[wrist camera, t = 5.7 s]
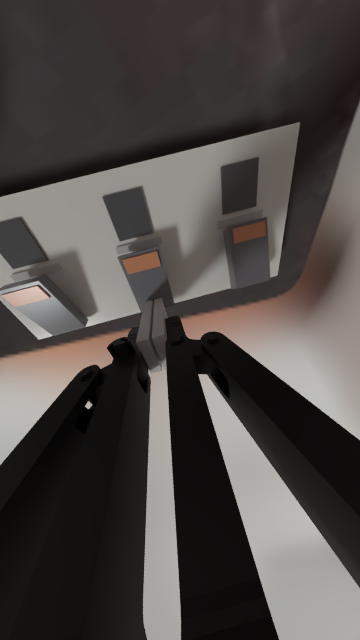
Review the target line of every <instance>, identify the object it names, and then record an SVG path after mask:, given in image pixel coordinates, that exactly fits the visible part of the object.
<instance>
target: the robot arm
mask: <svg viewBox="0 0 360 640" xmlns="http://www.w3.org/2000/svg"><path fill="white" fill-rule="evenodd" d="M107 349H108V350H109V352H110V354H111V355H112V356H113V358H114V359H113V362H112V364H110V365H108V366H106V367H104V368H102V369H100V368H99V366H97V365H92V366H89V367H87V368H84V369H83V370H82V371H80V372H79V373H78V374H77V375H76V376H75V377H74V379H73V380H72V381H71V382H70V383H69V385H68V386H67V387H66V388H65V389H64V390H63V392H62V393H61V394H60V395H59V396H58V398H57V399H56V400H55V401H54V402H53V403H52V405H51V406H50V407H49V408H48V409H47V411H46V412H45V413H44V414H43V415H42V417H41V418H40V419H39V420H38V421H37V422H36V424H35V425H34V426H33V427H32V428H31V430H30V431H29V432H28V433H27V434H26V436H25V437H24V438H23V439H22V440H21V441H20V443H19V444H18V445H17V446H16V447H15V448H14V450H13V451H12V452H11V453H10V454H9V456H8V457H7V458H6V459H5V460H4V462H3V463H2V464H1V465H0V640H147V638H146V634H145V629H144V624H143V582H144V554H145V553H144V552H145V526H146V525H145V524H146V498H147V495H146V494H147V469H148V468H147V467H148V441H149V440H148V439H149V412H150V384H151V381H150V377H149V375H148V369H149V370H150V372H151V373H154V372H157V371H161V370H162V363H163V366H164V368H165V369H167V383H168V400H169V416H170V434H171V450H172V467H173V484H174V500H175V518H176V534H177V550H178V568H179V585H180V603H181V640H279V639H278V635H277V632H276V629H275V626H274V623H273V620H272V617H271V613H270V610H269V607H268V604H267V601H266V598H265V594H264V591H263V588H262V584H261V581H260V578H259V575H258V571H257V568H256V565H255V561H254V558H253V555H252V552H251V548H250V545H249V542H248V538H247V535H246V532H245V528H244V525H243V522H242V519H241V515H240V512H239V509H238V506H237V502H236V499H235V495H234V492H233V489H232V486H231V482H230V479H229V476H228V472H227V469H226V466H225V463H224V459H223V456H222V452H221V449H220V446H219V442H218V439H217V436H216V433H215V429H214V426H213V423H212V419H211V416H210V413H209V409H208V406H207V403H206V399H205V396H204V393H203V390H202V386H201V383H200V380H199V376H198V374H207V375H208V376H209V378H210V379H211V381H212V382H213V383H214V385H215V386H216V388H217V389H218V390H219V392H220V393H221V394H222V396H223V397H224V399H225V400H226V402H227V403H228V404H229V406H230V407H231V408H232V410H233V411H234V413H235V414H236V416H237V417H238V418H239V420H240V421H241V423H242V424H243V425H244V427H245V428H246V430H247V431H248V432H249V434H250V435H251V437H252V438H253V439H254V441H255V442H256V444H257V445H258V446H259V448H260V449H261V450H262V452H263V453H264V455H265V456H266V457H267V459H268V460H269V462H270V463H271V464H272V466H273V467H274V469H275V470H276V471H277V473H278V474H279V475H280V477H281V478H282V480H283V481H284V482H285V484H286V485H287V487H288V488H289V490H290V491H291V492H292V494H293V495H294V497H295V498H296V499H297V500H298V502H299V504H300V505H301V506H302V508H303V509H304V510H305V512H306V513H307V515H308V516H309V518H310V519H311V520H312V522H313V523H314V525H315V526H316V527H317V529H318V530H319V531H320V533H321V534H322V536H323V537H324V538H325V540H326V541H327V543H328V544H329V545H330V547H331V548H332V550H333V551H334V552H335V554H336V555H337V557H338V558H339V559H340V561H341V562H342V564H343V565H344V566H345V568H346V569H347V571H348V572H349V573H350V575H351V576H352V578H353V579H354V580H355V582H356V583H357V584H358V586H359V587H360V440H359V439H357V438H356V437H355V436H353V435H352V434H351V433H349V432H348V431H347V430H346V429H344V428H343V427H342V426H340V425H339V424H338V423H336V422H335V421H334V420H333V419H331V418H330V417H329V416H328V415H326V414H325V413H324V412H322V411H321V410H320V409H318V408H317V407H316V406H315V405H313V404H312V403H311V402H309V401H308V400H307V399H306V398H304V397H303V396H301V395H300V394H299V393H298V392H297V391H295V390H294V389H293V388H291V387H290V386H289V385H287V384H286V383H285V382H284V381H282V380H281V379H280V378H279V377H277V376H276V375H275V374H273V373H272V372H271V371H270V370H268V369H267V368H266V367H264V366H263V365H262V364H260V363H259V362H258V361H256V360H255V359H254V358H252V357H251V356H250V355H249V354H248V353H246V352H245V351H244V350H242V349H241V348H240V347H239V346H237V345H236V344H235V343H233V342H232V341H231V340H229V339H228V338H227V337H226V336H224V335H223V334H221V333H219V332H208V333H206V334H204V335H203V336H202V337H201V340H192V339H189V338H188V337H186V335H185V332H184V329H183V326H182V323H181V320H180V317H178V316H173V317H169V318H168V317H167V314H166V310H165V307H164V304H163V301H162V298H158V299H155V300H154V304H153V301H152V300H151V301H147V302H145V304H144V308H143V313H142V317H141V321H140V326H138V327H134V328H132V329H131V330H130V332H129V334H128V337H123V338H119V339H117V340H115V341H113V342H112V343H111V344H109V346H108V347H107ZM88 401H90V403H91V404H92V406H91V408H90V409H87V408H86V407H85V405H86V403H87V402H88Z"/></svg>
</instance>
